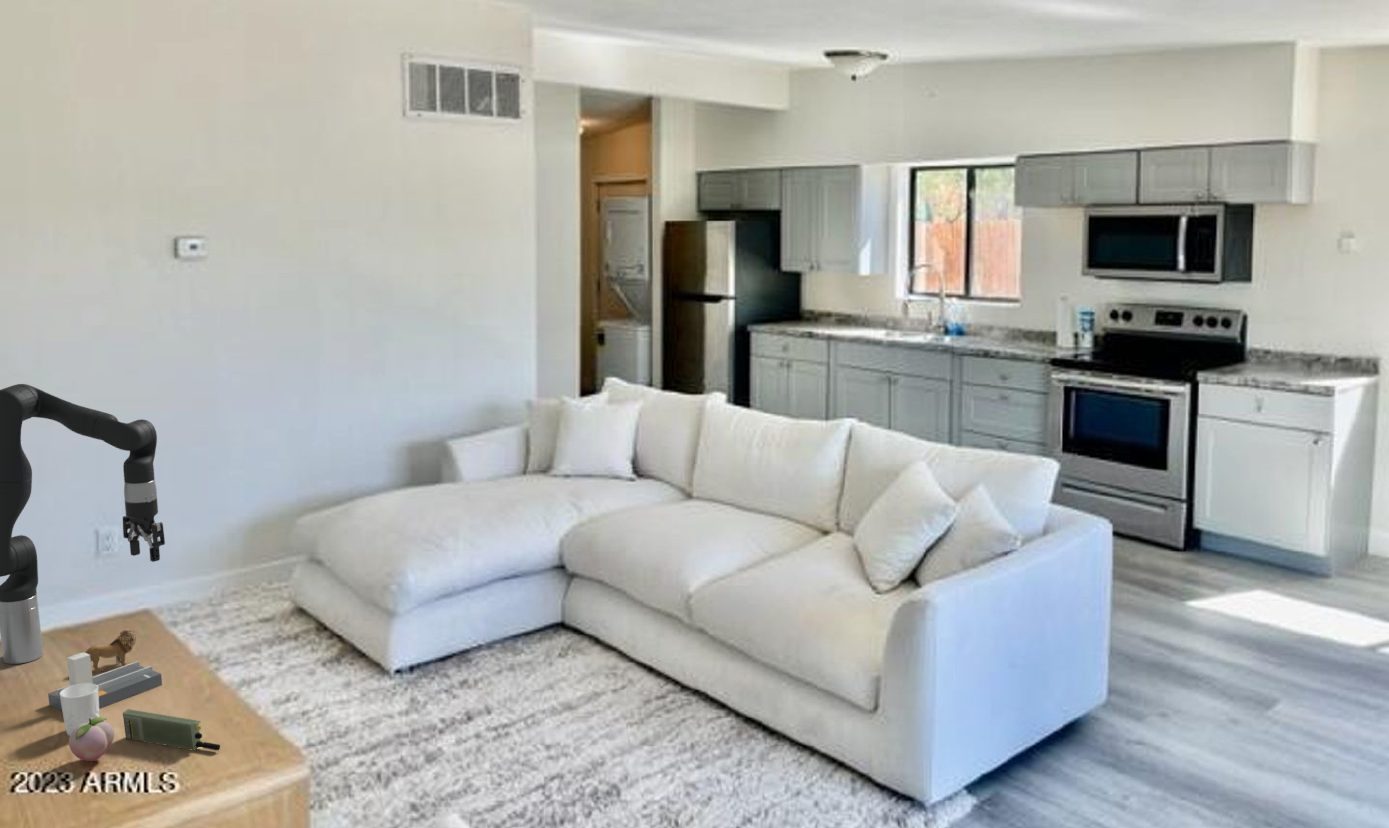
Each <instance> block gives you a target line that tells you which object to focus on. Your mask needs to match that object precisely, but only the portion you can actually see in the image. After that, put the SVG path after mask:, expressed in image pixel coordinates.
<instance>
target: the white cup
mask: <svg viewBox="0 0 1389 828" xmlns="http://www.w3.org/2000/svg"><path fill="white" fill-rule="evenodd" d="M60 699H61V706H62V710H61V711H62V716H63V723H64V726H65V732H66V734H67V736H69V737H70V735H71V733H72V732H73V730H74V729H75V728H76V727H77V726H79V725H80V724H82V723H84V722H88V721H89V719H90V718H91V720H92V719H94V718H96V717H100V709H99V691H98V686H97V685H96V684H92V683H83V684H77V685H73V686H70V687H67V688H65V689H63V690H62V691H61V692H60Z"/></svg>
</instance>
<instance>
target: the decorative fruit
mask: <svg viewBox="0 0 1389 828" xmlns="http://www.w3.org/2000/svg"><path fill="white" fill-rule="evenodd" d="M106 720H108V718H107V717H104V716H99V717H96V718H94V719H92V720H91V718H90V719H89V721H88V722H84V723H82V724H80V725H79V726H77V727H76V728H75V729H74V730H73V732H72V733H71V735H70V736H69V739H68V747H69V749H70V752H71V753H72V754H73V755H74V756H75V757H76V758H78V759H80V761H81V760H82V761H85V762H95V761H97V760H98V759H100V758H101V757H102V756H104V755H105V753H107V751H109V749H110V747H111V746H112V744H113V741H114V738H115V729H114V728H113V725H111V724H110V723H109V722H107V721H106Z"/></svg>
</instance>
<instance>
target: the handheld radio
mask: <svg viewBox="0 0 1389 828" xmlns="http://www.w3.org/2000/svg"><path fill="white" fill-rule="evenodd" d="M122 717H123V726H124V733H125V739H126V740H132V741H137V740H139V741H138V742H143V741H145V742H144V743H148V742H150V743H149V744H154V743H159V744H158V745H160V744H166V745H170V746H169V747H171V746H175V747H174V748H177V747H180V748H179V749H183V748H185V749H184V750H189V749H192V750H191V751H195V750H194V749H197V748H198V747H203V749H208V750H214V751H219V750H220V749H221V745H220V744H217V743H211V742H207V741H206V742H205V741H204V742H203V741H202V740H201V738H203V733H201V732H200V730H201V728H202V727H201V726H200V725H199V724H200V723H201V722H202V721H201V720H198V719H197V720H196V719H190V718H185V717H179V716H177V717H176V716H173V715H172V716H171V715H166V714H159V713H153V712H146V711H140V710H135V709H130V708H128V709H126V710H125V711H123V712H122ZM166 745H165V746H166Z"/></svg>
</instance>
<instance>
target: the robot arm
mask: <svg viewBox="0 0 1389 828" xmlns="http://www.w3.org/2000/svg"><path fill="white" fill-rule="evenodd" d="M32 418H39V419H46V420H51V421H55V422H57V423H60V424H61V425H63V426H64V427H66V428H67V429H68V430H69V431H71V432H73V433H75V434H78V435H81V436H85V437H88V438H90V439H95V440H98V441H99V440H100V441H103V442H104V443H106V444H108V445H110V446H112V447H114V448H117V449H119V450H122V451H127V452H129V456H128V457H127V458H126V459H125V460H124V461H123V471H122V472H123V480H124V481H123V482H124V485H123V496H124V506H125V507H124V509H125V515H124V516H122V531H123V533H122V534H123V535H122V536H123V538H124V539H127V541H128V542H129V551H130V555H131V556H139V555H140V554H141V548H140V545H141V544H140V537H142V538H143V540H144V541H145V542H147V544H148V546H149V557H150V558H149V560H150V562H152V563H154V562H157V561H160V560H161V559H160V557H161V556H160V555H161V554H160V553H161V552H160V547H161V546H164V545H166V541H165V532H164V524H163V522H162V521H161V522H156V521H155V516H156V515H158V514H159V509H158V495H157V493H158V492H157V485H156V481H155V469H154V462H155V461H154V459H155V456H156V450H157V443H158V440H157V439H158V436H157V430H156V428H155V426H154V425H153V423H152V422H150V421H149V420H148V419H136V420H133V421H132V422H131V421H130V422H127V423H126V422H121V421H119V420H118V418H117V417H116V416H115V415H113V414H111V413H107V412H103V411H100V410H97V409H93V408H90V407H85V406H82V405H79V404H76V403H73V402H70V401H68V400H65V399H62V398H59V397H58V396H55V395H52V394H50V393H49V392H46V391H44V390H41V389H40V388H38V387H35V386H32V385H30V384H26V383H18V384H13V385H10V386H8V387H4V388H1V389H0V577H6V576H8V577H7V579H6V580H5V581H4V582H2V583H1V585H0V643H1V645H0V646H1V652H2V658H3V662H4V663H6V664H9V665H10V664H11V665H16V664H25V663H29V662H33V661H35V660H38V659H39V658H41V657H42V656H43V655H44V652H43V651H44V649H43V642H42V641H43V639H42V633H41V632H42V631H41V621H40V611H39V602H38V595H37V593H38V592H37V589H38V588H37V587H38V583H39V574H38V573H39V570H38V569H39V568H38V567H39V566H38V553H37V549H36V545H35V544H34V542H33V540H31V538H30V537H28V536H26V535H23V534H21V535H20V534H19V535H16V536H12V535H13V531H14V527H15V524H16V522H17V520H18V519H19V517H20V515H21V514H22V512H23V510H24V509H25V508H26V505H27V504H28V502H29V499H30V498H31V494H32V485H33V470H32V465H31V463H30V461H29V459H28V457H27V455H26V453H25V452H24V449H23V447H22V443H21V442H22V440H21V439H22V425H23V422H24V421H26V420H30V419H32Z"/></svg>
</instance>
